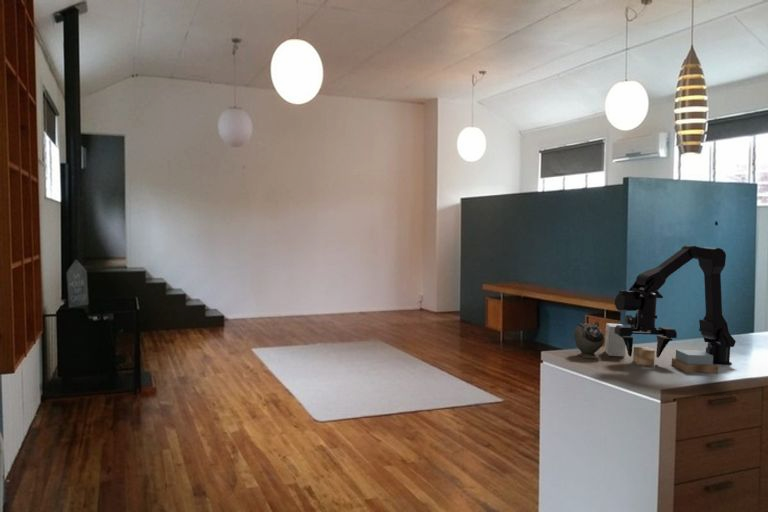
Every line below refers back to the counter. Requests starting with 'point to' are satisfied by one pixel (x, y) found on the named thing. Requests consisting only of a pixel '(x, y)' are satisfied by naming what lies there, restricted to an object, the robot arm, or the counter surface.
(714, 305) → the robot arm
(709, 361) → the tower top
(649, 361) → the oak block
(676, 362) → the tower base
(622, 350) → the small box
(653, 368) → the counter surface
